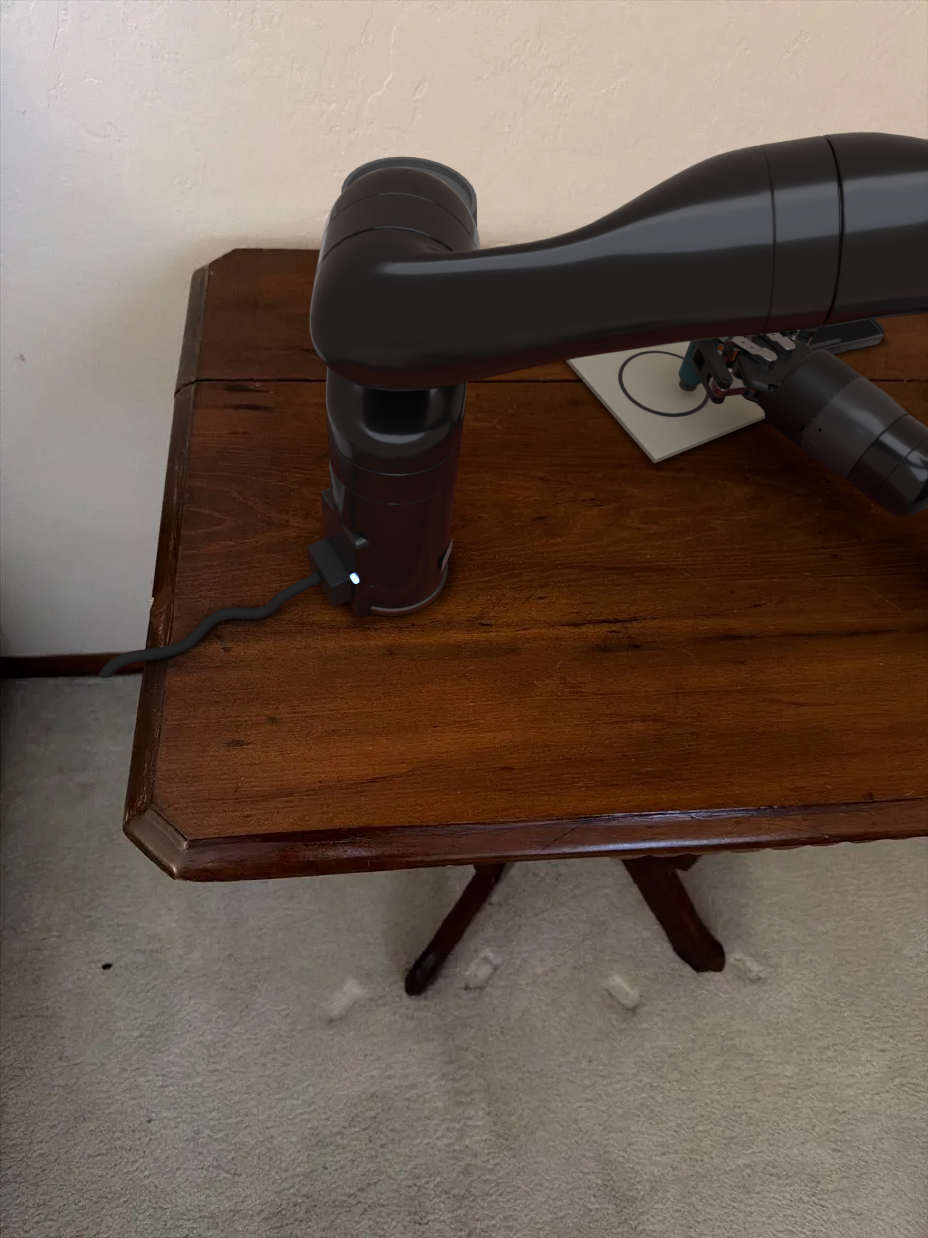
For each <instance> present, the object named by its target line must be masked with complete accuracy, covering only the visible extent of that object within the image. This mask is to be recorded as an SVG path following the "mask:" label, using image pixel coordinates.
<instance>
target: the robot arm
mask: <svg viewBox="0 0 928 1238" xmlns="http://www.w3.org/2000/svg"><path fill="white" fill-rule="evenodd" d="M318 253H319V254H318V257H317V258H318V259H317V264H316V269H315V272H314V273H315V274H314V279H313V285H312V292H311V297H310V305H309V319H308V321H309V323H308V324H309V334H310V340H311V343H312V346H313V349H314V351H315V352H316V355H317V356H318V358H319V359H320V361H321V362H322V363H323V364H324V365H325V366H326V373H325V390H324V406H325V409H324V410H325V421H326V423H325V424H326V433H327V448H328V449H327V450H328V467H329V468H328V469H329V483H330V484H329V485H330V487H327V488H325V489H323V490H321V492H320V499H321V511H322V522H323V523H322V525H323V535H324V537H323V539H321V540H318V541H316V542H313V543H310V544H308V545H306V548H307V556H308V566H309V569H310V570H311V572H312V573H311V574H310V575H308V576H305V577H304V578H302V579H300V580H298V581H296V582H293V584H290V585H289V586H287V587H286V588H284V589H281V591H279V592H278V593H277V594H275V595H274V596H273V597H272V598H271V600H269V602H267V603H266V604H264V605H262V606H259V607H251V608H249V607H228V608H222V609H219V610H216V611H214V612H212V613H210V614H209V615H208V616H206V617H205V618H204V619H202V620H201V622H200V623H198V625H197V626H196V627H195V628H194V629H193V630H192V631H191V633H189V634H188V635H187V636H186V637H184V638H183V639H181V640H179V641H177V642H174V643H171V644H168V645H164V646H158V647H152V648H151V647H150V648H144V649H137V650H136V649H135V650H132V651H128V652H124V653H121V654H119V655H117V656H115V657H114V658H112V659H110V660H109V661H108V662H106V664H105V665H104V666H103V667H102V668H101V670H100V671H99V673H98V676H99V678H101V679H108V678H110V677H112V676H113V675H114V674H115V673H117V672H118V671H119V670H121V669H122V668H124V667H126V666H128V665H132V664H136V663H141V662H142V663H143V662H149V661H157V660H162V659H167V658H171V657H174V656H175V657H176V656H178V655H181V654H182V653H185V652H187V651H189V650H190V649H192V648H193V647H195V646H196V645H197V644H198V643H199V642H200V641H201V640H202V639H203V638H204V637H205V636H206V635H207V634H208V632H209V631H210V630H211V629H213V627H215V626H216V625H218V624H220V623H222V622H225V621H229V620H247V621H248V620H249V621H253V620H262V619H264V618H268V617H270V616H272V615H273V614H275V613H276V612H277V611H278V610H279V609H280V607H281V606H282V605H284V604H285V603H286V602H288V601H290V600H291V599H293V598H294V597H296V596H298V595H300V594H301V593H304V592H305V591H307V590H310V589H311V588H313V587H315V586H317V585H319V586H320V588H321V590H322V591H323V593H324V595H325V597H326V598H327V600H328V602H329V604H330V605H331V607H336V606H338V605H341V604H343V603H345V602H348V604H349V605H350V607H351V609H352V610H353V613H354V614H355V616H356V617H357V618H362V617H364V616H367V615H370V614H371V615H372V614H373V615H377V616H381V617H402V616H408V615H411V614H414V613H417V612H419V611H420V610H423V609H425V608H426V607H428V606H429V605H431V603H433V602H434V601H435V600H436V599H437V598H438V597H439V595H440V594H441V593H442V591H443V589H444V587H445V585H446V581H447V576H448V568H449V567H448V566H449V565H448V559H449V556H450V554H451V552H452V550H453V549H452V548H453V541H454V538H452V539H450V538H451V531H452V523H453V522H452V521H453V513H454V505H455V496H456V487H457V480H458V470H459V460H460V454H461V446H462V445H461V444H462V439H463V430H464V421H465V414H466V405H467V394H468V383H471V382H475V381H479V380H485V379H488V378H492V377H496V376H502V375H507V374H510V373H511V374H512V373H514V372H518V371H519V372H520V371H524V370H528V369H531V368H537V367H542V366H546V365H550V364H555V363H559V362H566V361H565V360H570V359H575V358H581V357H587V356H594V355H600V354H607V353H614V352H621V351H628V350H635V349H642V348H648V347H655V346H662V345H668V344H675V343H682V342H689V341H693V342H694V343H695V344H696V345H697V346H696V348H695V351H694V353H693V355H692V357H691V360H690V362H691V364H692V366H693V368H694V370H695V372H696V374H697V375H698V377H699V379H700V381H701V383H702V385H703V387H704V388H705V390H706V392H707V394H708V396H709V398H710V400H711V401H712V402H713V403H715V404H722V403H723V402H724V400H725V397H726V396H734V395H741V396H742V397H743V398H745V399H746V400H749V401H752V402H754V403H756V404H757V405H758V406H759V407H760V408H761V409H762V410H763V411H764V414H765V421H766V422H767V423H768V424H769V425H770V426H771V427H772V428H774V429H775V430H777V432H779V433H780V434H781V435H783V436H784V437H785V438H786V439H788V440H789V441H791V442H792V443H793V444H795V446H797V447H798V448H799V449H801V450H802V451H803V452H804V453H806V454H807V455H808V456H810V457H811V458H812V459H813V460H815V461H816V462H817V463H818V464H819V465H821V466H823V467H824V468H826V470H829V471H830V472H832V473H834V474H836V475H837V476H839V477H841V478H842V479H844V480H845V481H846V482H848V484H850V485H851V486H853V487H854V488H856V489H857V490H858V491H859V492H861V493H862V494H863V495H865V496H866V497H867V498H868V499H870V500H871V501H873V503H875V505H877V506H879V507H880V508H882V509H883V510H884V511H885V512H887V513H889V514H890V515H892V516H894V517H897V518H906V517H909V516H912V515H914V514H917V513H919V512H921V511H923V510H926V509H928V426H927V425H926V424H925V423H923V422H921V421H920V420H919V419H917V418H916V417H914V416H913V415H911V414H910V413H909V412H908V411H907V410H905V409H904V408H903V407H902V406H901V405H900V403H898V402H897V401H896V400H895V399H894V398H893V397H891V395H890V394H888V393H887V392H885V390H884V389H882V388H880V387H879V386H877V385H876V384H875V383H874V382H872V381H871V380H869V379H868V378H866V377H865V376H863V374H861V373H859V372H858V371H857V370H855V369H854V368H853V367H851V366H850V365H848V364H847V363H846V362H844V361H843V360H842V359H840V358H839V357H837V356H836V354H834V355H833V354H832V353H830V352H829V351H827V350H823V349H822V350H817V351H814V352H813V351H812V349H811V348H810V347H809V344H810V342H811V340H812V338H813V336H814V334H815V332H816V331H817V328H819V327H820V328H822V327H828V326H834V325H841V324H847V323H853V322H859V321H866V320H872V319H876V320H878V319H887V318H888V319H889V318H897V317H907V316H918V315H928V139H927V138H921V137H916V136H912V135H902V134H895V133H887V132H879V131H877V132H876V131H849V132H837V133H828V134H822V135H815V136H809V137H803V138H796V139H795V138H794V139H789V140H783V141H776V142H770V143H764V144H758V145H752V146H746V147H742V148H737V149H733V150H729V151H726V152H722V153H719V154H716V155H714V156H711V157H708V158H706V159H703V160H702V161H699V162H697V163H694V164H692V165H690V166H689V167H687V168H685V169H683V170H681V171H679V172H677V173H675V174H673V175H672V176H670V177H668V178H666V179H665V180H663V181H661V182H660V183H658V184H656V185H655V186H653V187H651V188H649V189H647V190H645V191H644V192H642V193H641V194H639V195H638V196H636V197H634V198H632V199H631V200H629V201H627V202H625V203H624V204H623V205H621V206H619V207H617V208H616V209H614V210H612V211H611V212H609V213H607V214H606V215H603V216H601V217H600V218H598V219H596V220H593V221H592V222H591V223H588V224H585V225H584V226H581V227H578V228H576V229H574V230H571V231H568V232H565V233H562V234H558V235H555V236H551V237H548V238H547V237H546V238H543V239H538V240H534V241H528V242H520V243H514V244H507V245H501V246H493V247H487V248H481V241H480V235H479V230H478V226H477V227H476V224H475V221H474V219H473V217H472V215H471V213H470V211H469V209H468V207H467V206H466V204H465V203H464V202H463V200H462V199H461V198H460V197H459V195H458V194H457V193H456V192H455V191H454V190H453V189H452V188H451V187H450V186H448V185H447V184H446V183H445V182H443V181H442V180H440V179H438V178H437V177H435V176H433V175H431V174H429V173H426V172H424V171H420V170H417V169H412V168H406V167H391V168H384V169H379V170H376V171H373V172H371V173H368V174H366V175H364V176H362V177H361V178H359V179H357V180H356V181H355V182H353V183H352V184H351V185H350V186H348V187H347V188H346V189H345V190H344V191H343V192H342V193H341V192H340V195H339V196H338V197H337V198H336V200H335V201H334V203H333V204H332V206H331V208H330V211H329V212H328V215H327V218H326V221H325V223H324V228H323V233H322V237H321V244H320V248H319V252H318ZM715 342H717V343H719V345H721V346H722V348H723V349H722V350H721V349H719V348H716V347H715V346H714V345H715ZM736 351H737V352H736ZM450 540H451V542H450Z"/></svg>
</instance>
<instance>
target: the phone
mask: <svg viewBox="0 0 928 1238" xmlns="http://www.w3.org/2000/svg"><path fill="white" fill-rule="evenodd" d="M885 334H886V330H885V328H884V327H883V326H882V325H881V324H880V322H879V321H878V320H877V319H872V320H866V321H859V322H853V323H847V324H841V325H834V326H828V327H822V328H820V327H819V328H817V331H816V332H815V334H814V336H813V338H812V340H811V342H810V344H809V347H810V348H811V349H812V351H813V352H814V351H817V350H822V349H823V350H827V351H829V352H830V353H832V354H833V355H838V354H842V353H847V352H850V351H854V350H860V349H863V348H868V347H872V346H877V345H878V344H880V343H881V341H882V339H883V338H884V336H885Z"/></svg>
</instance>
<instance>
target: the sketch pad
mask: <svg viewBox="0 0 928 1238" xmlns="http://www.w3.org/2000/svg"><path fill="white" fill-rule="evenodd" d="M689 343H690V341H689V342H682V343H675V344H668V345H662V346H655V347H648V348H642V349H635V350H628V351H621V352H614V353H607V354H600V355H594V356H587V357H581V358H575V359H570V360H565V361H564V362H566V363H567V364H568V366H569V367H570V368H571V369H572V371H574V373H575V374H576V375H577V376H578V377H579V378H580V379H581V381H582V382H583V383H584V384H585V385H586V386H587V388H588V389H589V390H590V391H591V392H592V393H593V395H594V396H595V397H596V398H597V399H598V400H599V402H601V404H602V405H603V406H604V407H605V408H606V410H608V412H609V413H610V414H611V416H613V417H614V419H615V420H616V421H617V422H618V423H619V425H621V426H622V428H623V429H624V430H625V431H626V433H627V434H628V435H629V436H630V437H631V438H632V440H634V442H635V443H636V444H637V445H638V446H639V447H640V449H641V450H642V451H643V452H644V453H645V454H646V455H647V457H648V458H649V459H650V460H651V462H652V463H653V464H656V463H659V462H661V461H663V460H666V459H669V458H671V457H673V456H676V455H678V454H681V453H683V452H686V451H688V450H692V449H694V448H695V447H698V446H700V445H703V444H706V443H708V442H711V441H713V440H715V439H718V438H720V437H722V436H725V435H728V434H731V433H733V432H735V431H737V430H740V429H742V428H745V427H747V426H750V425H752V424H755V423H757V422H759V421H762V420H764V419H765V414H764V411H763V409H762V407H761V406H760V405H758V404H757V403H754V402H752V401H749V400H746V399H745V398H743V397H742V396H741V395H734V396H726V397H725V400H724V402H723V403H722V404H715V403H713V402H712V401H711V400H710V398H709V396H708V394H707V392H706V390H705V388H704V387H703V385H702V383H701V384H699V385H698V386H697V388H696V390H694V391H690V392H689V391H685V390H683V389H682V388H681V387H680V386H679V381H680V377H679V370H680V367H681V364H682V362H683V359H684V357H685V354H686V351H687V349H688V346H689ZM765 420H766V419H765Z"/></svg>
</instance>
